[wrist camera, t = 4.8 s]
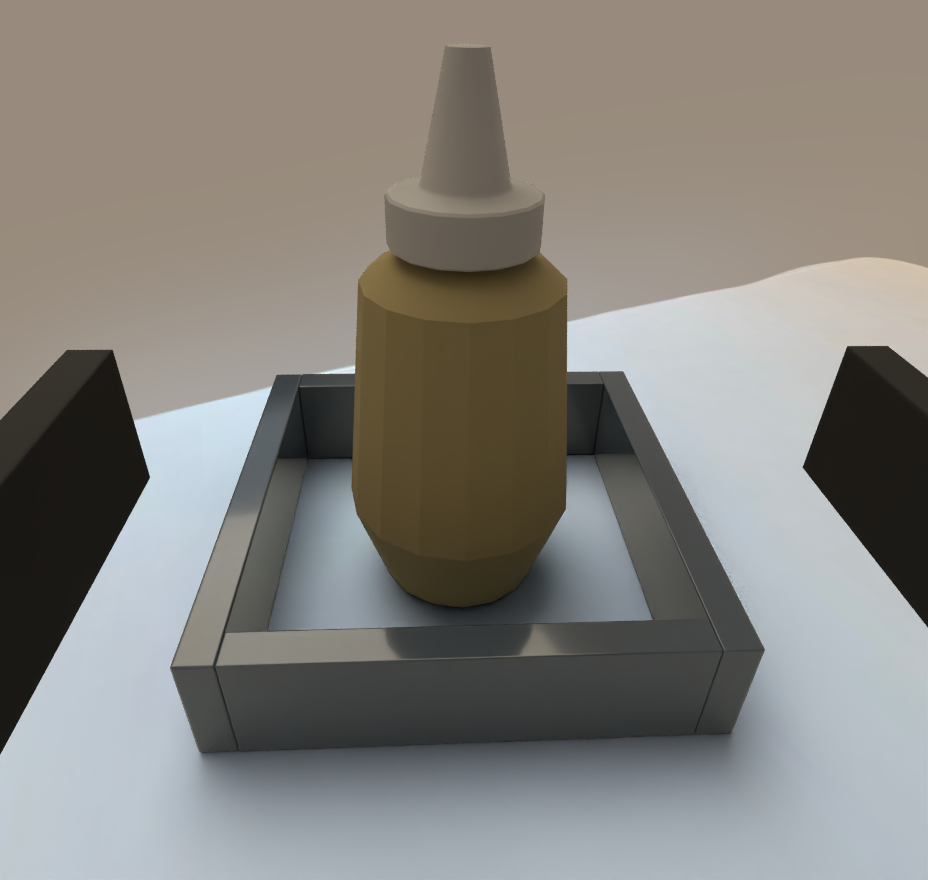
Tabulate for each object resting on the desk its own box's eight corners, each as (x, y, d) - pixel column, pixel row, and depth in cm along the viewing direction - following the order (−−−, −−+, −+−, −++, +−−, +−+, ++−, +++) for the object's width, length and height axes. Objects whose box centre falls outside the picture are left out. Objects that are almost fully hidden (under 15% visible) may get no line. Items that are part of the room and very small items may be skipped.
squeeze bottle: (576, 517, 30) (645, 41, 20) (529, 661, 24) (595, 69, 13) (406, 478, 32) (389, 30, 22) (320, 600, 26) (242, 50, 16)
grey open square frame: (611, 440, 35) (623, 371, 33) (731, 733, 21) (765, 649, 19) (287, 444, 34) (276, 374, 32) (198, 753, 21) (168, 668, 18)
